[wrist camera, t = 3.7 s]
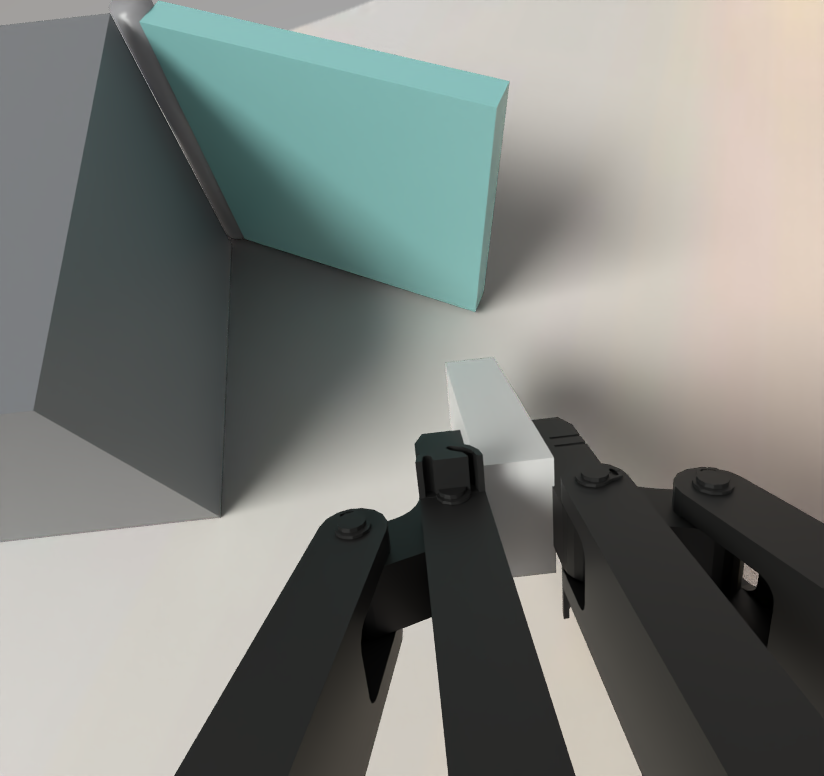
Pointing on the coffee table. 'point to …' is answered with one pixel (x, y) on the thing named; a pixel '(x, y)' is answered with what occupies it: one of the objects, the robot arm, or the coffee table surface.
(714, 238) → the coffee table surface
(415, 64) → the side door
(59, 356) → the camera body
